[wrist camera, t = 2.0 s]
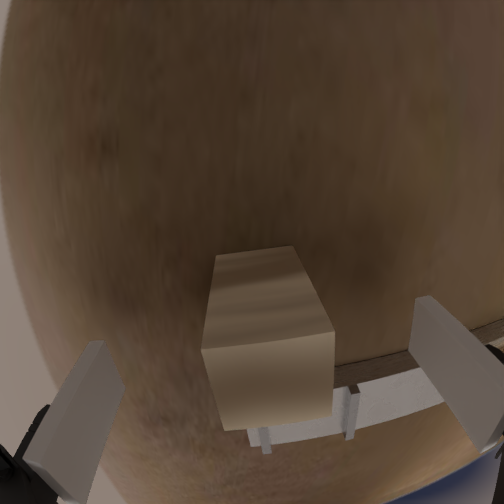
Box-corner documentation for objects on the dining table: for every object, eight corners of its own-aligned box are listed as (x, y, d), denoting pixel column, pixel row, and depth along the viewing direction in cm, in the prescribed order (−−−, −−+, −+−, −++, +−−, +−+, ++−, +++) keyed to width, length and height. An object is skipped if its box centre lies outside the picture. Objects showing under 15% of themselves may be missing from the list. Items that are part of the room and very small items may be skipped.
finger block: (215, 255, 17) (200, 349, 9) (292, 245, 17) (335, 331, 9) (229, 329, 18) (227, 439, 11) (298, 320, 18) (330, 425, 11)
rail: (239, 381, 19) (244, 519, 10) (518, 312, 19) (588, 375, 10) (249, 426, 21) (256, 544, 12) (503, 357, 21) (560, 422, 12)
